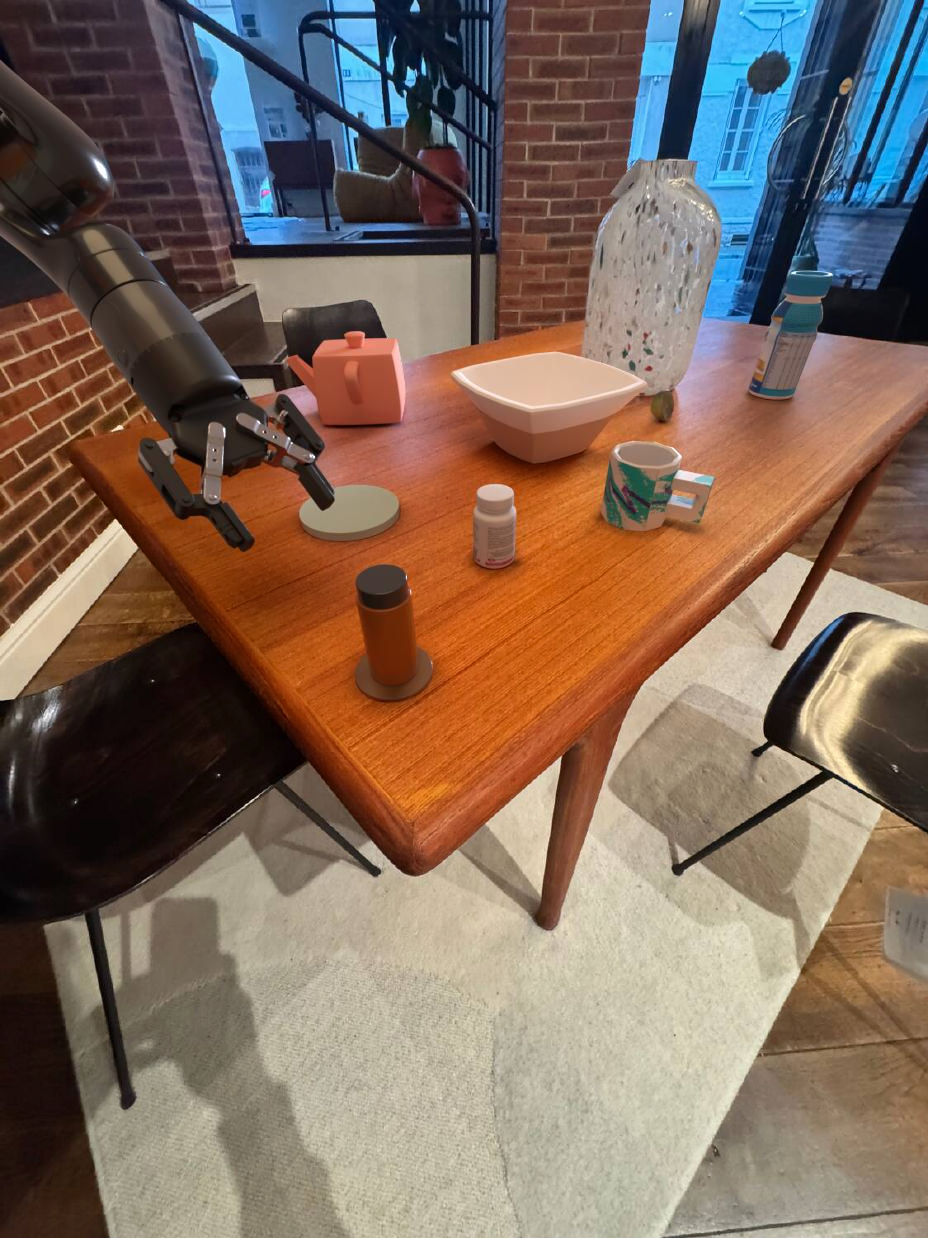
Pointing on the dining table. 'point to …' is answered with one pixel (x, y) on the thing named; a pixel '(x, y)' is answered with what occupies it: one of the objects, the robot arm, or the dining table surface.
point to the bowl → (546, 401)
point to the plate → (351, 513)
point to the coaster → (398, 691)
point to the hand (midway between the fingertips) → (291, 525)
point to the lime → (662, 405)
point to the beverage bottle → (790, 336)
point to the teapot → (355, 380)
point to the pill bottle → (494, 526)
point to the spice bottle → (387, 623)
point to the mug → (651, 487)
